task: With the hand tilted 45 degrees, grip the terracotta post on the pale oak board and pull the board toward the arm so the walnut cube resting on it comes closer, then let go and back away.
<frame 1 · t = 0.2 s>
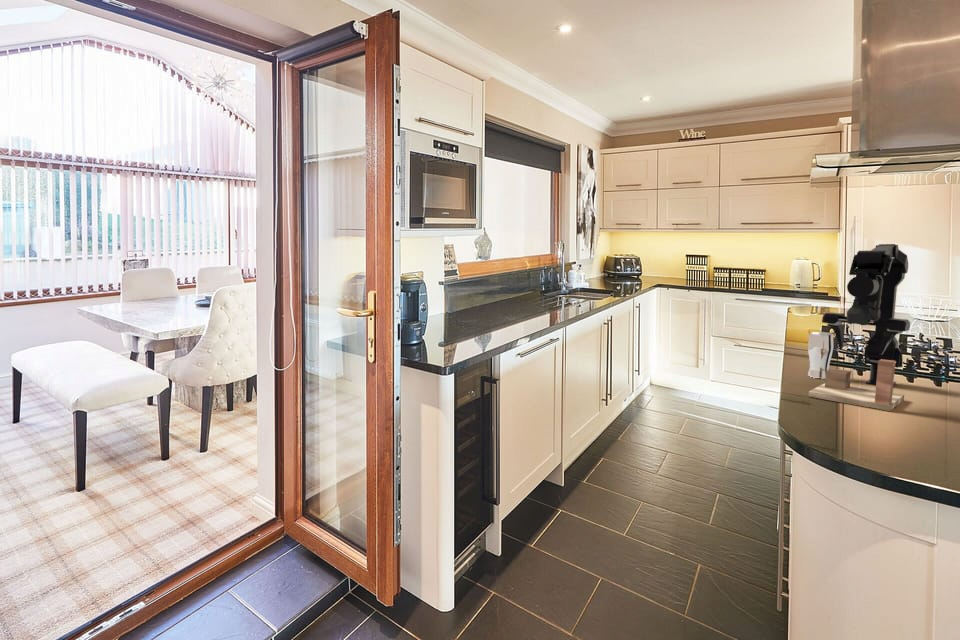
hand: (860, 352, 140), 14 cm above the countertop, tool pointing down, fingers open, 9 cm apart
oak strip: (857, 376, 143), point 7 cm above the countertop, slide at 0.0 cm, touching walnut cube
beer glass: (818, 377, 169), on the countertop
walnut cube: (837, 387, 151), point 2 cm above the countertop, touching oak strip
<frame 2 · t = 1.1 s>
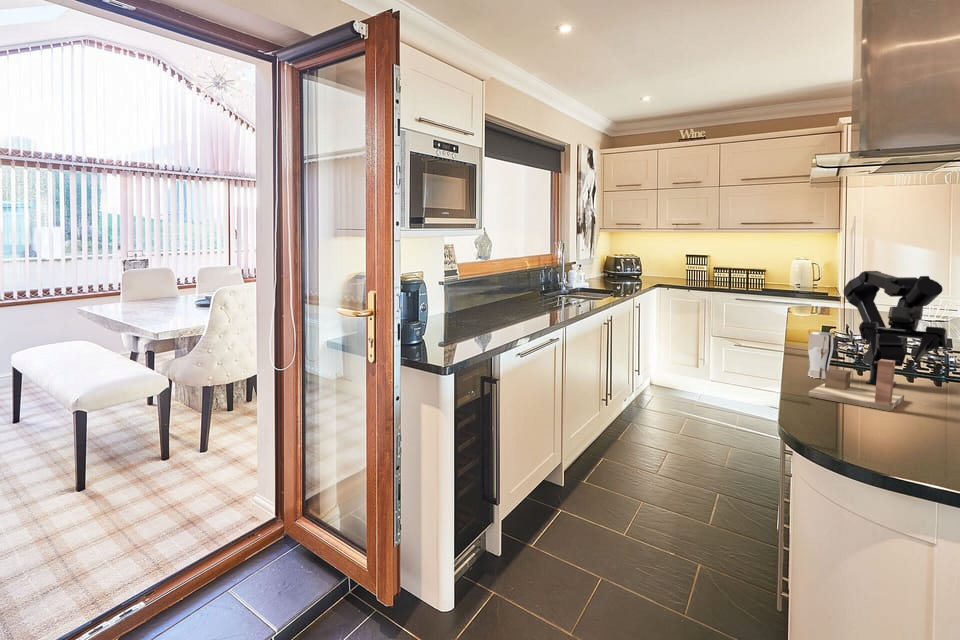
hand: (894, 357, 138), 13 cm above the countertop, tool tilted 45°, fingers open, 9 cm apart
nothing on the countertop moved.
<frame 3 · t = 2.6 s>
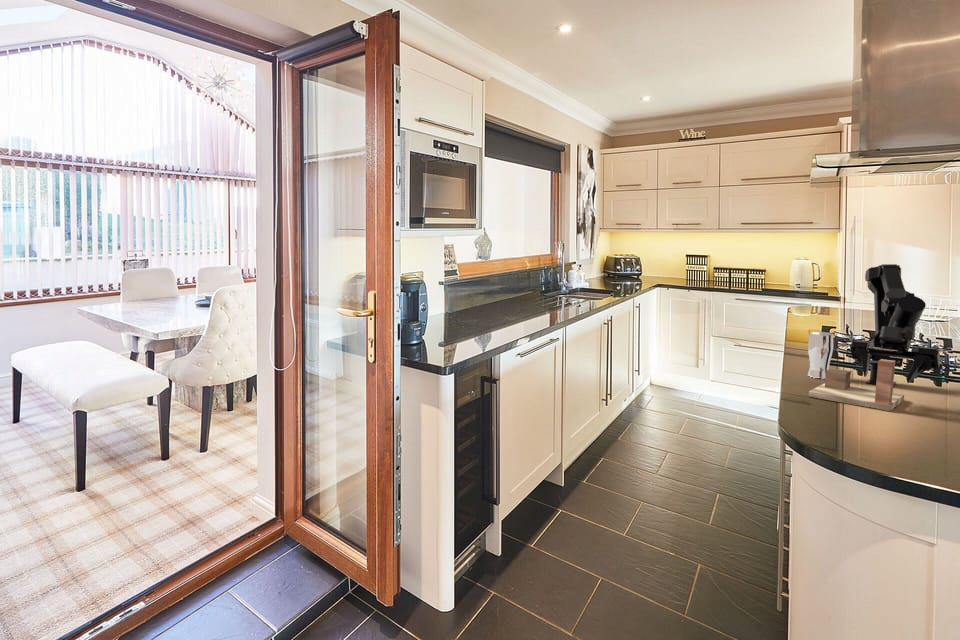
hand: (885, 378, 134), 8 cm above the countertop, tool tilted 45°, fingers open, 9 cm apart
nothing on the countertop moved.
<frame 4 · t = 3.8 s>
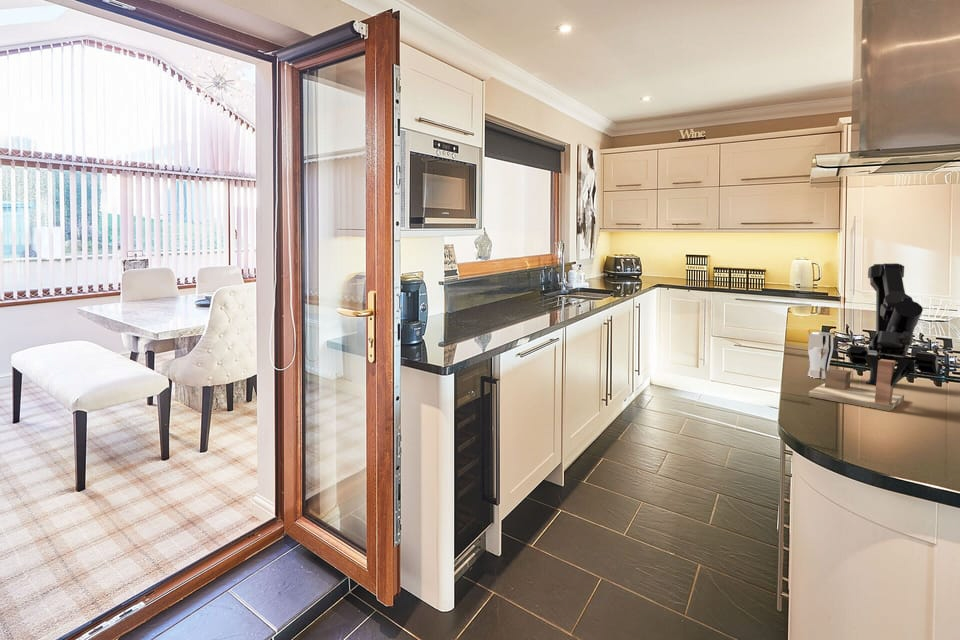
hand: (883, 384, 133), 7 cm above the countertop, tool tilted 45°, fingers closed on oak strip, 3 cm apart
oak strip: (857, 376, 143), point 7 cm above the countertop, slide at 0.0 cm, touching gripper, walnut cube
everything else where it was.
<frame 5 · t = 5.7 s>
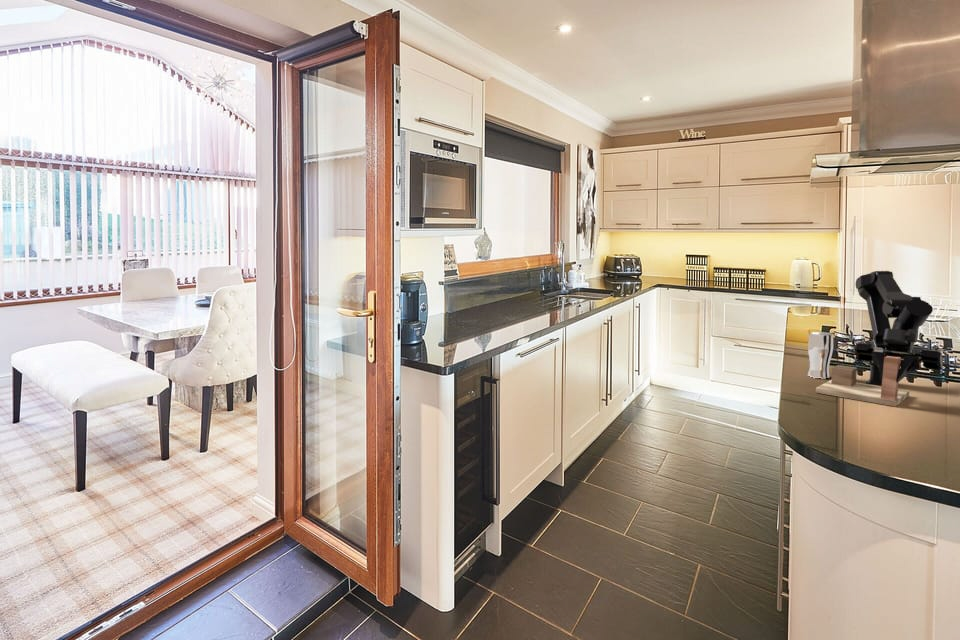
hand: (889, 380, 137), 7 cm above the countertop, tool tilted 45°, fingers closed on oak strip, 3 cm apart
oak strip: (863, 372, 147), point 7 cm above the countertop, slide at 5.9 cm, touching gripper, walnut cube
walnut cube: (843, 383, 154), point 2 cm above the countertop, touching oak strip
everything else where it was.
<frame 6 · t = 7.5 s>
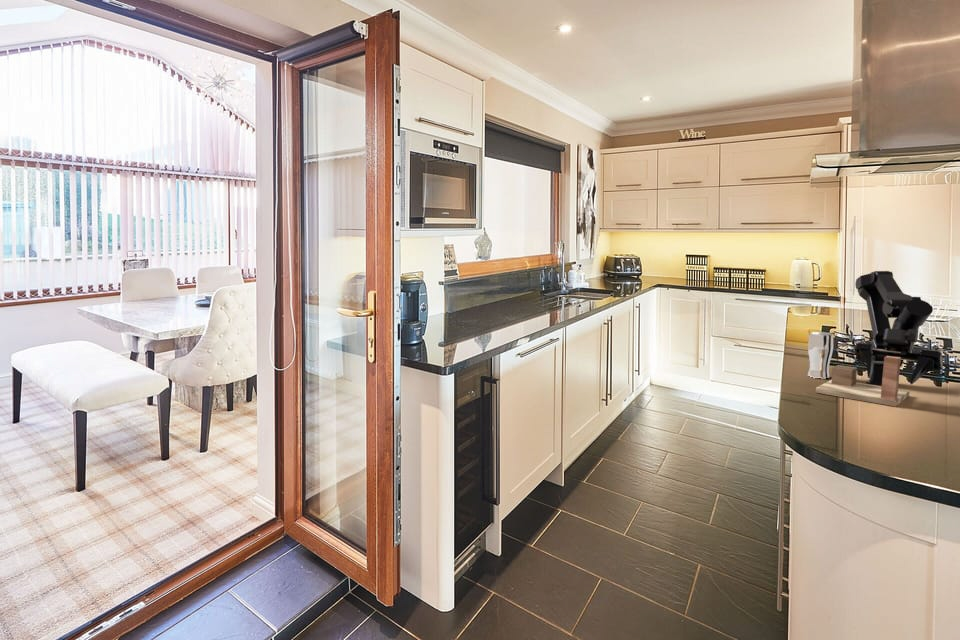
hand: (889, 380, 137), 7 cm above the countertop, tool tilted 45°, fingers open, 9 cm apart
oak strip: (863, 372, 147), point 7 cm above the countertop, slide at 6.0 cm, touching walnut cube
everything else where it was.
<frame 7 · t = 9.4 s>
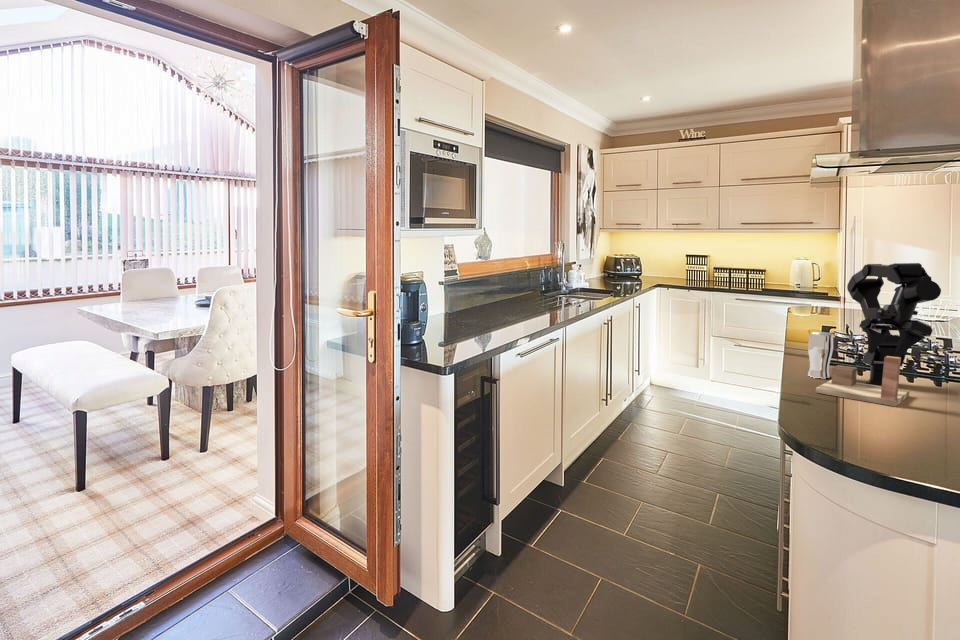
hand: (883, 354, 146), 12 cm above the countertop, tool tilted 25°, fingers open, 9 cm apart
nothing on the countertop moved.
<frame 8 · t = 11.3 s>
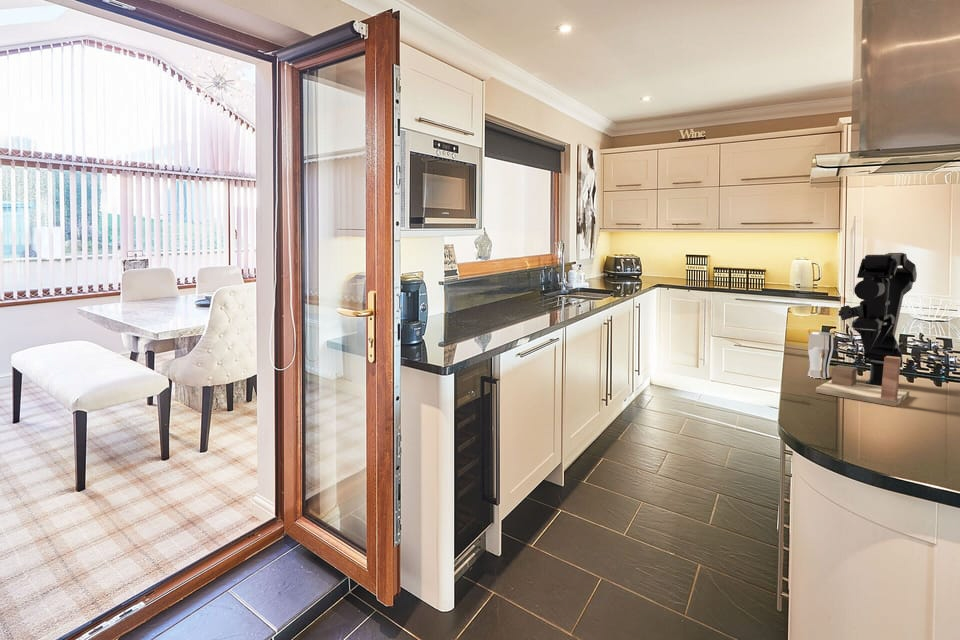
hand: (871, 349, 149), 13 cm above the countertop, tool pointing down, fingers open, 9 cm apart
nothing on the countertop moved.
at the end: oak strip slide at 6.0 cm; walnut cube 0.5 cm from the target spot, point 1.7 cm above the countertop; walnut cube touching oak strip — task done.
